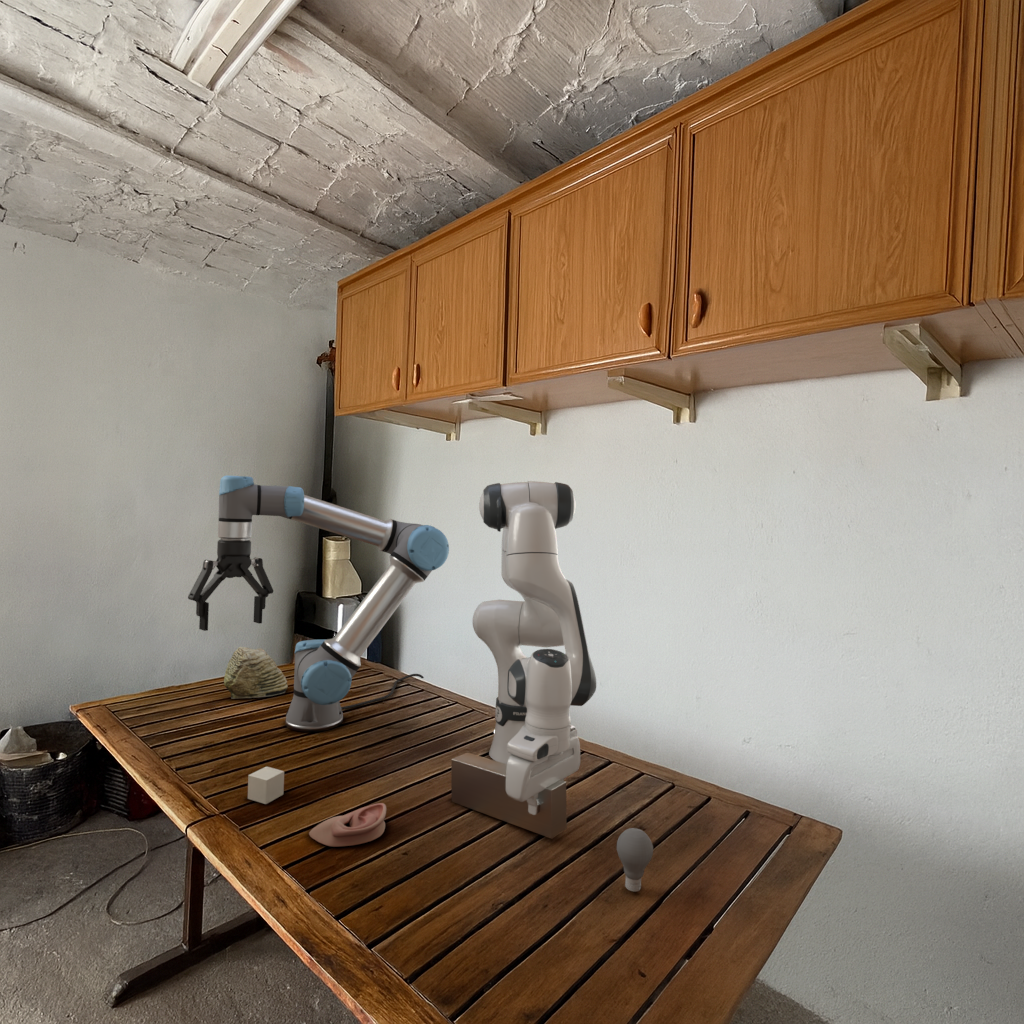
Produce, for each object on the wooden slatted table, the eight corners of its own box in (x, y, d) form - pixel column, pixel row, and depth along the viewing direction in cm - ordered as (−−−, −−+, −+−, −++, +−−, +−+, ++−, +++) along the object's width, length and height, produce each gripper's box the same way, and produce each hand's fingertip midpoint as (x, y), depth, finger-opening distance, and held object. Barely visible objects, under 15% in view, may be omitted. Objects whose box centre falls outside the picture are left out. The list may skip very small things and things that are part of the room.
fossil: (219, 695, 195) (221, 647, 195) (279, 686, 207) (281, 640, 207) (229, 703, 188) (231, 653, 188) (290, 693, 201) (292, 646, 200)
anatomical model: (301, 820, 116) (331, 792, 127) (300, 842, 116) (330, 812, 127) (368, 831, 113) (393, 801, 124) (368, 853, 113) (392, 821, 124)
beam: (467, 793, 138) (467, 752, 139) (566, 828, 122) (566, 781, 122) (451, 801, 134) (451, 758, 135) (551, 838, 118) (551, 790, 118)
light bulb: (610, 878, 109) (613, 821, 108) (645, 878, 109) (647, 821, 109) (619, 901, 103) (622, 840, 103) (655, 900, 103) (658, 839, 103)
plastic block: (265, 789, 136) (266, 766, 136) (283, 794, 134) (284, 771, 134) (247, 798, 131) (248, 775, 131) (265, 804, 129) (266, 780, 129)
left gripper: (273, 537, 166) (270, 617, 166) (174, 539, 147) (171, 630, 147) (289, 539, 161) (286, 622, 162) (189, 541, 142) (186, 635, 142)
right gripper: (563, 718, 132) (560, 784, 133) (501, 746, 116) (498, 820, 117) (589, 726, 128) (586, 794, 129) (528, 755, 112) (525, 832, 113)
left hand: (231, 626), depth 154 cm, fingers open, 13 cm apart
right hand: (543, 807), depth 122 cm, fingers closed on beam, 5 cm apart
